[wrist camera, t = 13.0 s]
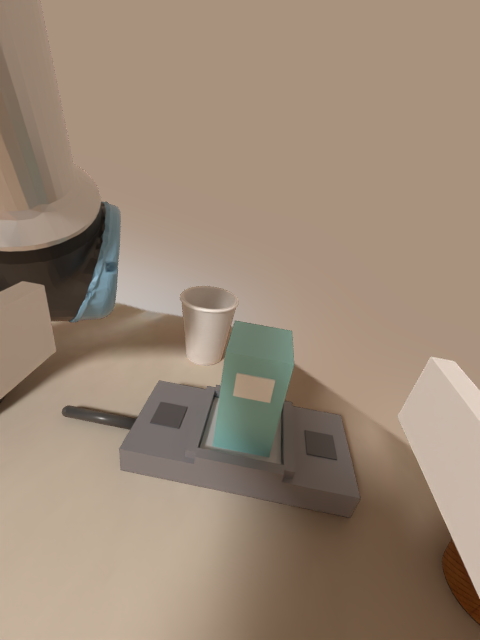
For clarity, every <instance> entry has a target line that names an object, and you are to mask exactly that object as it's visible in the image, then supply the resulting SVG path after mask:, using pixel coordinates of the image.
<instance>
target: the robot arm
mask: <svg viewBox="0 0 480 640" xmlns="http://www.w3.org/2000/svg"><path fill="white" fill-rule="evenodd" d="M120 222H121V216H120V210H119V209H118V207H116V206H115V205H111V204H109V203H108V202H101V200H100V194H99V191H98V188H97V185H96V183H95V182H94V180H93V179H92V178H91V177H90V176H89V175H88V174H87V173H86V172H85V171H84V170H83V169H81V168H80V167H78V166H76V165H75V164H74V163H73V160H72V154H71V150H70V145H69V140H68V135H67V130H66V125H65V120H64V115H63V110H62V106H61V100H60V95H59V91H58V85H57V81H56V76H55V70H54V66H53V61H52V56H51V51H50V46H49V41H48V36H47V31H46V26H45V21H44V16H43V11H42V6H41V1H40V0H0V402H1V401H2V399H3V398H4V396H5V395H6V394H7V393H8V392H9V391H11V390H12V389H13V388H14V387H15V386H16V385H18V384H19V383H20V382H21V381H22V380H23V379H25V378H26V377H27V376H28V375H29V374H30V373H31V372H33V371H34V370H35V369H36V368H37V367H38V366H40V365H41V364H42V363H43V362H44V361H45V360H47V359H48V358H49V357H50V356H51V355H52V354H54V353H55V352H56V351H57V350H56V345H55V340H54V335H53V329H52V324H51V321H69V322H77V321H79V320H91V319H102V318H104V317H107V316H108V315H109V314H110V313H111V312H112V311H113V309H114V306H115V300H116V299H115V298H116V290H117V276H118V259H119V247H120ZM397 417H398V419H399V421H400V423H401V426H402V428H403V430H404V433H405V435H406V437H407V439H408V441H409V444H410V446H411V448H412V450H413V453H414V455H415V457H416V459H417V461H418V464H419V466H420V468H421V470H422V472H423V475H424V477H425V479H426V481H427V483H428V486H429V488H430V490H431V492H432V495H433V497H434V499H435V501H436V503H437V506H438V508H439V510H440V512H441V514H442V517H443V519H444V521H445V523H446V525H447V528H448V530H449V532H450V534H451V537H452V539H453V541H454V543H455V545H456V548H457V550H458V552H459V554H460V556H461V559H462V561H463V563H464V565H465V567H466V570H467V572H468V574H469V576H470V578H471V581H472V583H473V585H474V587H475V590H476V592H477V594H478V596H479V598H480V390H479V389H478V388H477V387H476V386H475V385H474V383H473V382H472V381H471V380H470V379H469V378H468V377H467V375H466V374H465V373H464V372H463V371H462V369H461V368H460V367H459V366H458V365H457V364H456V362H455V361H451V360H445V359H440V358H434V357H431V358H430V359H429V361H428V363H427V365H426V366H425V368H424V370H423V372H422V373H421V375H420V377H419V379H418V381H417V382H416V384H415V386H414V388H413V389H412V391H411V393H410V395H409V396H408V398H407V400H406V402H405V404H404V405H403V407H402V409H401V411H400V412H399V414H398V416H397Z"/></svg>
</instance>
